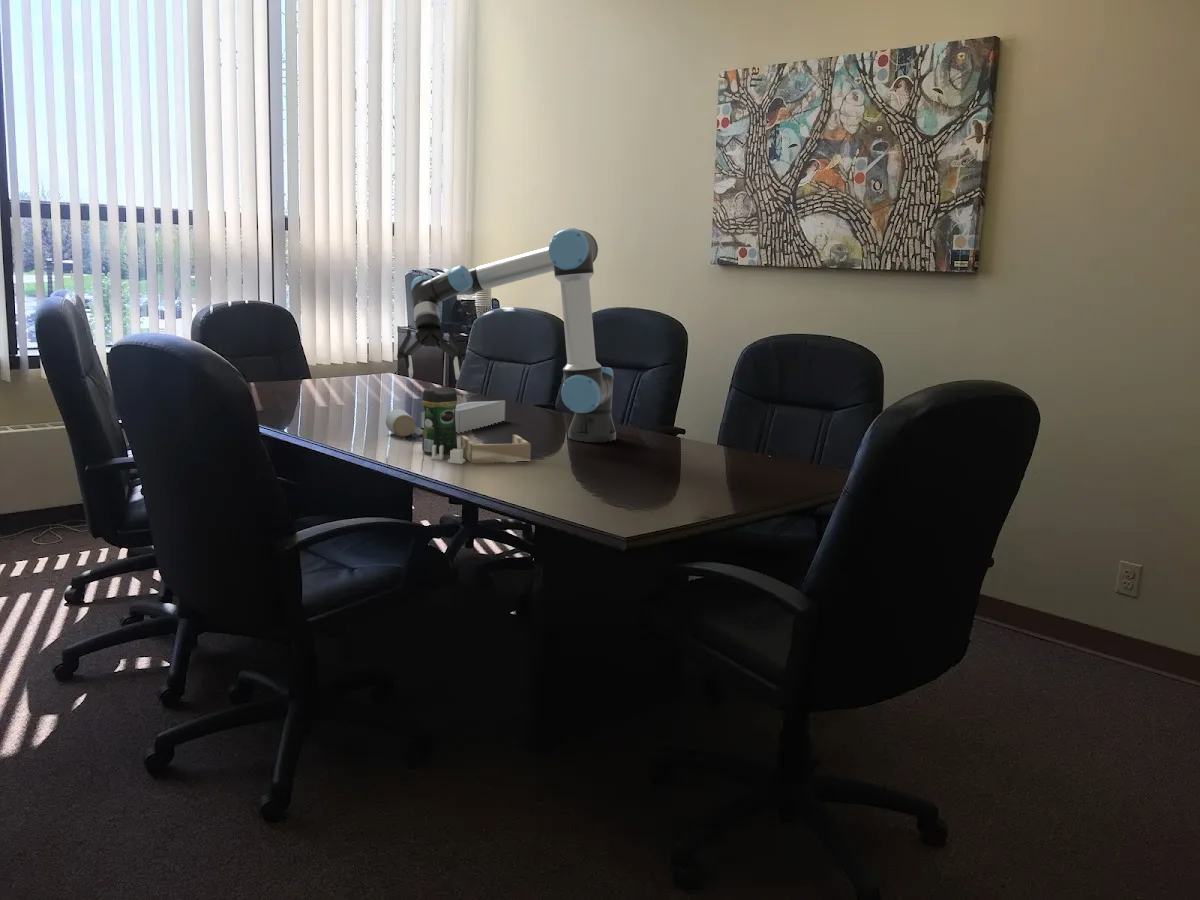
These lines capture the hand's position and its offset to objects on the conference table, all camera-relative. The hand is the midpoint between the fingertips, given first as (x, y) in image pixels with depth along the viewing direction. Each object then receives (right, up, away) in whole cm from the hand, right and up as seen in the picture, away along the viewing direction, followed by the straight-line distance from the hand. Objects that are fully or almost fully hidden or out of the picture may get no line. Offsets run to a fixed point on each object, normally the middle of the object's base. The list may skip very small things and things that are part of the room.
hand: (434, 376), depth 281 cm
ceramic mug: (-12, -17, +17) cm, 27 cm away
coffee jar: (+2, -22, -7) cm, 23 cm away
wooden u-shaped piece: (+18, -23, -9) cm, 31 cm away
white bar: (+3, -14, +41) cm, 43 cm away
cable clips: (+6, -24, -17) cm, 30 cm away
